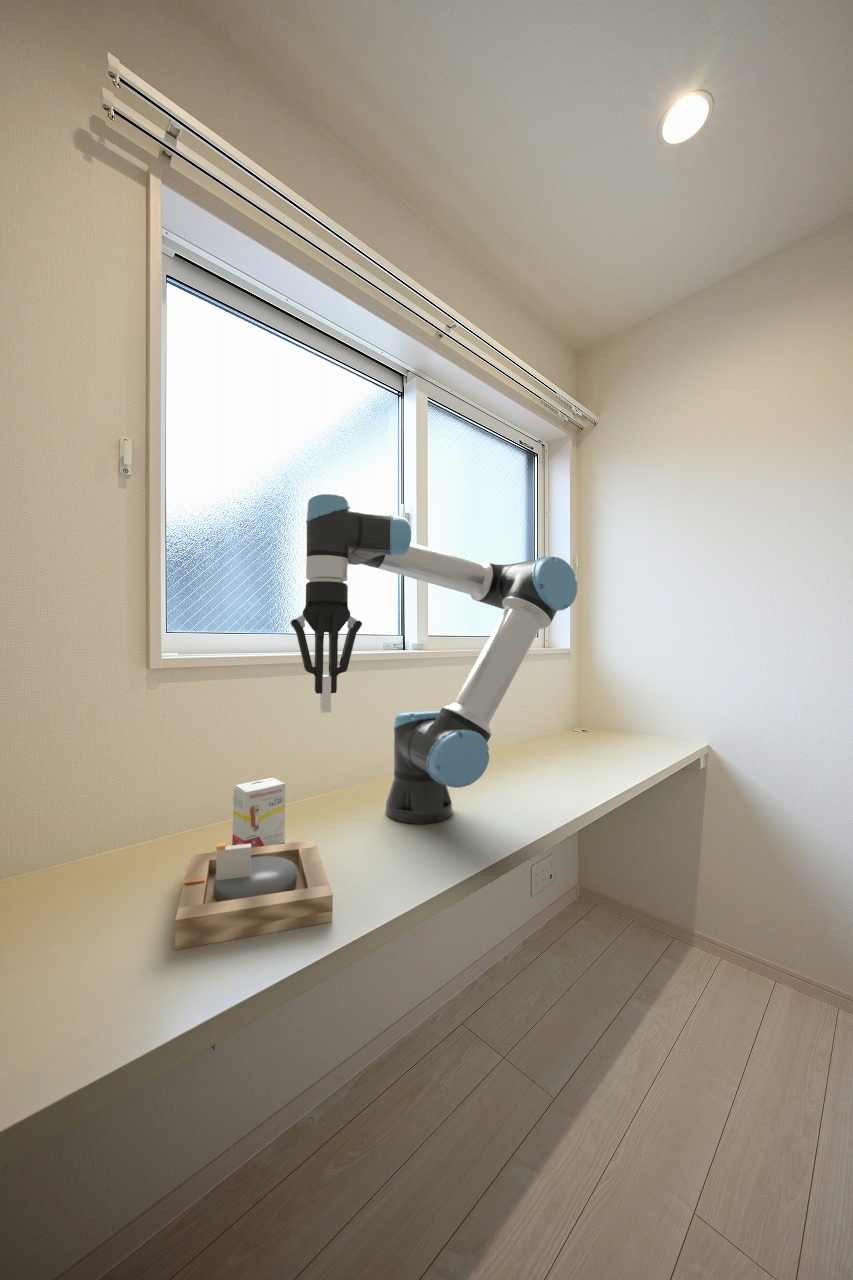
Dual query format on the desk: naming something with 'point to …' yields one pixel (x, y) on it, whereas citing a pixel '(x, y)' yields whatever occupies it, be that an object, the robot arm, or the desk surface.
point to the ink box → (259, 813)
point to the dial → (250, 873)
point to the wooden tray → (252, 900)
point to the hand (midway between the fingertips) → (325, 711)
